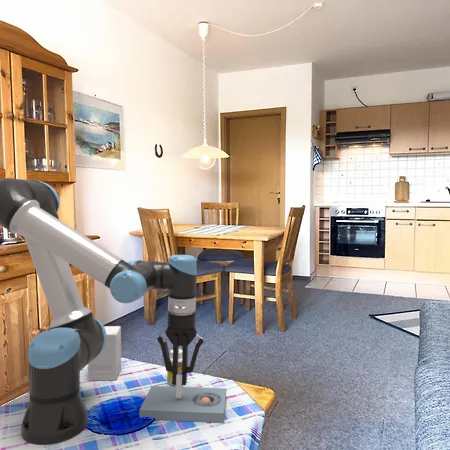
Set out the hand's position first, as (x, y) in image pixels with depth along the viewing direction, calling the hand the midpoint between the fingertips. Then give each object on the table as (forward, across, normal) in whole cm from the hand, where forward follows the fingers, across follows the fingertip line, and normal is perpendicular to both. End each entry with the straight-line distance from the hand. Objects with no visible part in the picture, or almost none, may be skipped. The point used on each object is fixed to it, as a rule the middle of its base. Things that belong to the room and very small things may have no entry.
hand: (179, 395), depth 112 cm
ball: (+2, +7, 0) cm, 7 cm away
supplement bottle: (+4, -3, +15) cm, 16 cm away
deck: (+3, +2, 0) cm, 4 cm away
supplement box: (+4, -27, +19) cm, 33 cm away
